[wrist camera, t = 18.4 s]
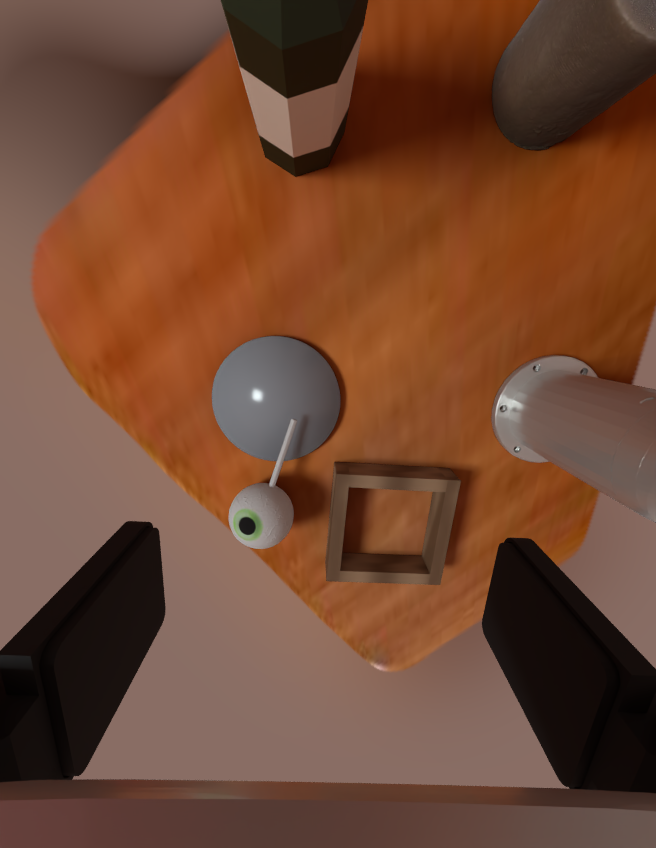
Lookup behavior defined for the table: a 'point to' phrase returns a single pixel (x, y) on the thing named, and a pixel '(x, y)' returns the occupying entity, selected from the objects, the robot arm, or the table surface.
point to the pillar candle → (571, 67)
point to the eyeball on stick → (263, 508)
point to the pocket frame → (383, 565)
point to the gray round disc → (275, 397)
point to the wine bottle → (297, 73)
